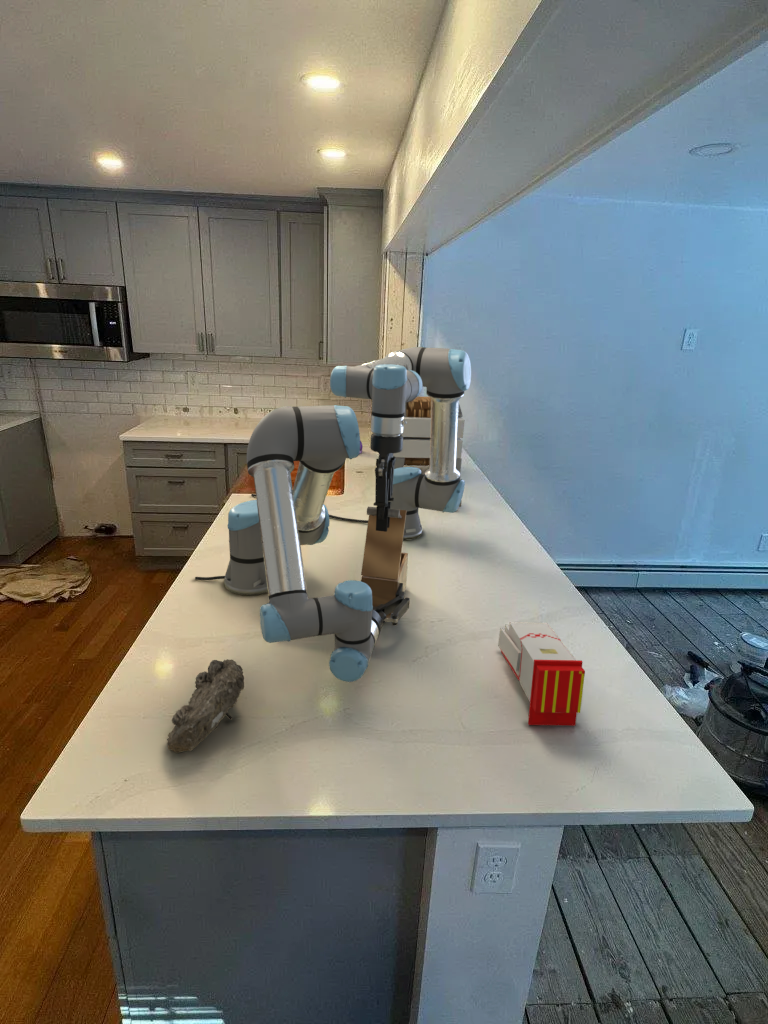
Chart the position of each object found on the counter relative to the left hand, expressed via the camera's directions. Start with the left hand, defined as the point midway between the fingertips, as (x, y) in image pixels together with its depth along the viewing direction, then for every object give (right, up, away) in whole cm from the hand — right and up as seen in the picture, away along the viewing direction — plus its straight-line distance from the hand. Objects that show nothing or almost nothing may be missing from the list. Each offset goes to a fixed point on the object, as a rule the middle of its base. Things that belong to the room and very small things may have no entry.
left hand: (382, 585), depth 147 cm
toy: (+32, -18, -25) cm, 45 cm away
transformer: (+18, +38, +128) cm, 134 cm away
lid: (+1, +11, -4) cm, 12 cm away
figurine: (-15, +51, +160) cm, 169 cm away
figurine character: (+28, +21, +83) cm, 90 cm away
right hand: (0, +15, -9) cm, 17 cm away
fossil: (-32, -20, -39) cm, 55 cm away
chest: (+1, -5, +6) cm, 8 cm away
